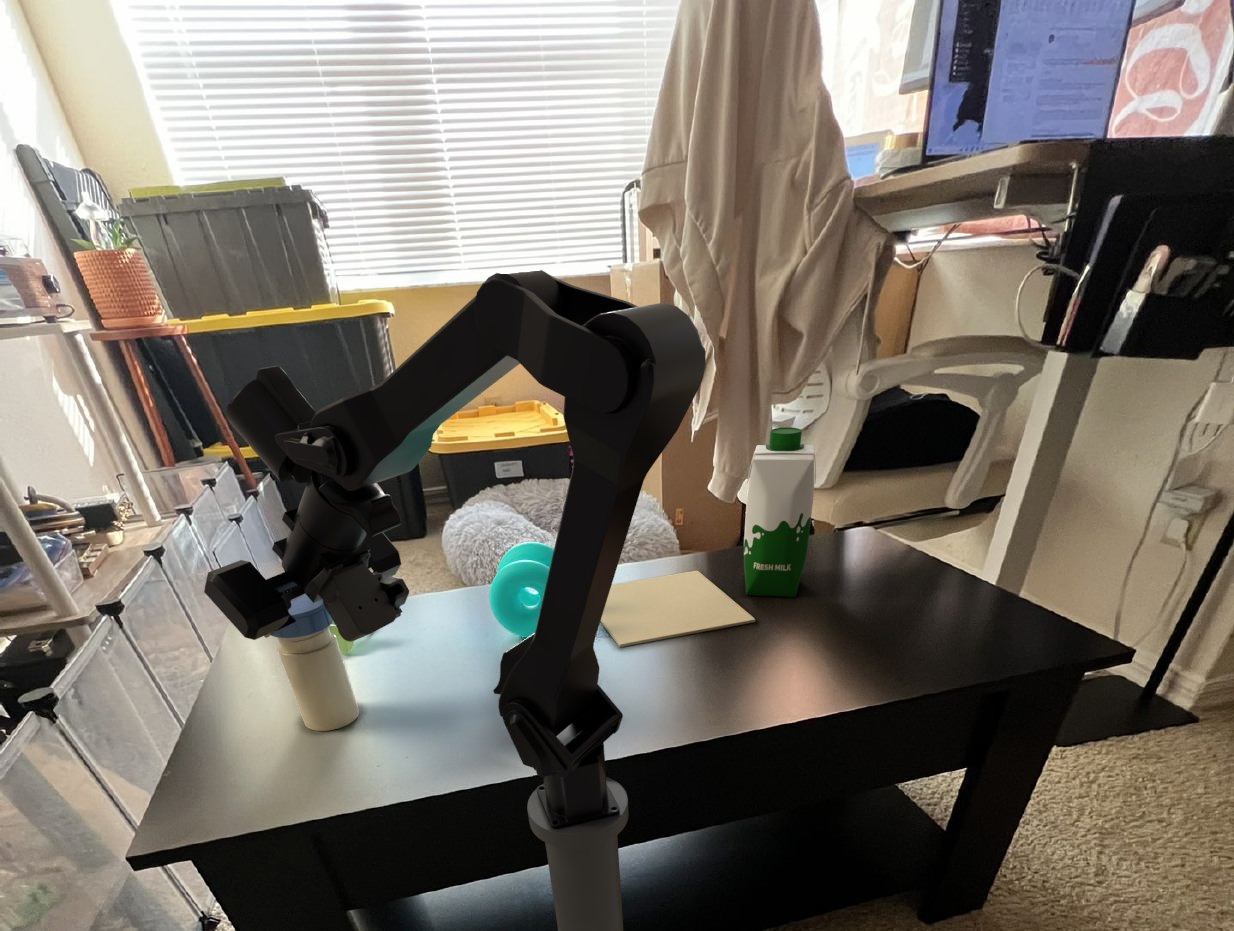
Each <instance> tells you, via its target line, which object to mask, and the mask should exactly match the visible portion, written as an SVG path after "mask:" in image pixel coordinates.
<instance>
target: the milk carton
mask: <svg viewBox="0 0 1234 931" xmlns="http://www.w3.org/2000/svg"><path fill="white" fill-rule="evenodd" d="M802 432H803V431H802V429H801V428H798V427H789V426H788V427H784V426H783V427H776V428H773V429H771V430H770V432H769V443H767V444H765V445H763V444H757V445H756V446H755V450H754V451H753V455H752V458H751V462H750V466H749V470H748V474H747V475H748V476H747V482H746V483H747V484H748V486H747V491H746V492H747V493H746V503H745V504H746V506H745V522H744V536H743V568H744V581H745V596H757V597H758V596H761V597H783V598H786V597H787V598H789V597H790V598H796V597H797V593H798V589H799V585H800V582H801V578H802V574H803V570H804V567H805V563H806V559H807V554H808V548H809V547H808V546H809V540H810V539H809V538H810V533H811V532H810V531H811V522H812V514H813V505H814V497H815V482H817V481H816V479H817V478H816V477H817V464H816V462H817V461H816V452H815V445H814V444H805V443H804V444H803V443H802V434H803V433H802ZM801 443H802V444H801Z"/></svg>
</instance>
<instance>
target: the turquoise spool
mask: <svg viewBox="0 0 1234 931" xmlns="http://www.w3.org/2000/svg"><path fill="white" fill-rule="evenodd" d="M553 552H554V547H551V546H550V545H547V544H545V543H542V542H537V541H527V542H526V541H525V542H521V543H519V544H515V545H514V546H512V547H511V548H509V550H507V551H506V552H505V553H504V555H503V556H502V558H501V559H500V561H499V564H498V566H497V570H496V574H495V576H494V577H493V579H492V582H491V584H490V588H489V594H488V598H489V606H490V609H491V612H492V614H493V616H494V618H495V619H496V621H497V623H499V624H500V626H501V627H503V628H504V629H505V630H506V631H508V632H509V633H511V634H513V635H515V636H518V637H522V638H528V637H529V636H531V635H532V634H534V633H535V630H536V626H537V621H538V617H539V613H540V608H541V604H542V599H543V595H544V591H545V586H546V582H547V578H548V573H549V569H550V565H551V560H552V556H553ZM528 588H530V589H533V590H535V591H531V590H529V589H528Z"/></svg>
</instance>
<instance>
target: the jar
mask: <svg viewBox="0 0 1234 931" xmlns="http://www.w3.org/2000/svg"><path fill="white" fill-rule="evenodd" d="M276 639H277V641H278V645H277V647H276V650H277V653H278V656H279V659H280V662H281V665H282V667H283V670H284V671H285V675H286V678H287V680H288V683H289V687H290V688H291V691H292V694H293V697H294V700H295V702H296V704H297V707H298V710H299V712H300V715H301V718H302V720H303V723H304V725H305V727H306V728H308V729H309V730H311V731H316V732H329V731H333V730H337V729H341V728H344V727H346V726H348V725H351V724H352V723H353V722H354V721H356V719H357V718H358V717H359V716H360V715H359V714H360V709H359V706H358V703H357V699H356V695H355V693H354V690H353V687H352V683H351V680H350V677H349V674H348V670H347V668H346V664H345V662H344V658H343V654H341V651H340V648H339V645H338V642H337V638H336V636H335V635H334V634H332V633H331V632H330V629H329V626H328V627H327V628H325V629H323V630H321V631H319V632H317V633H314V634H310V635H307V636H302V637H296V638H278V637H276Z"/></svg>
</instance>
